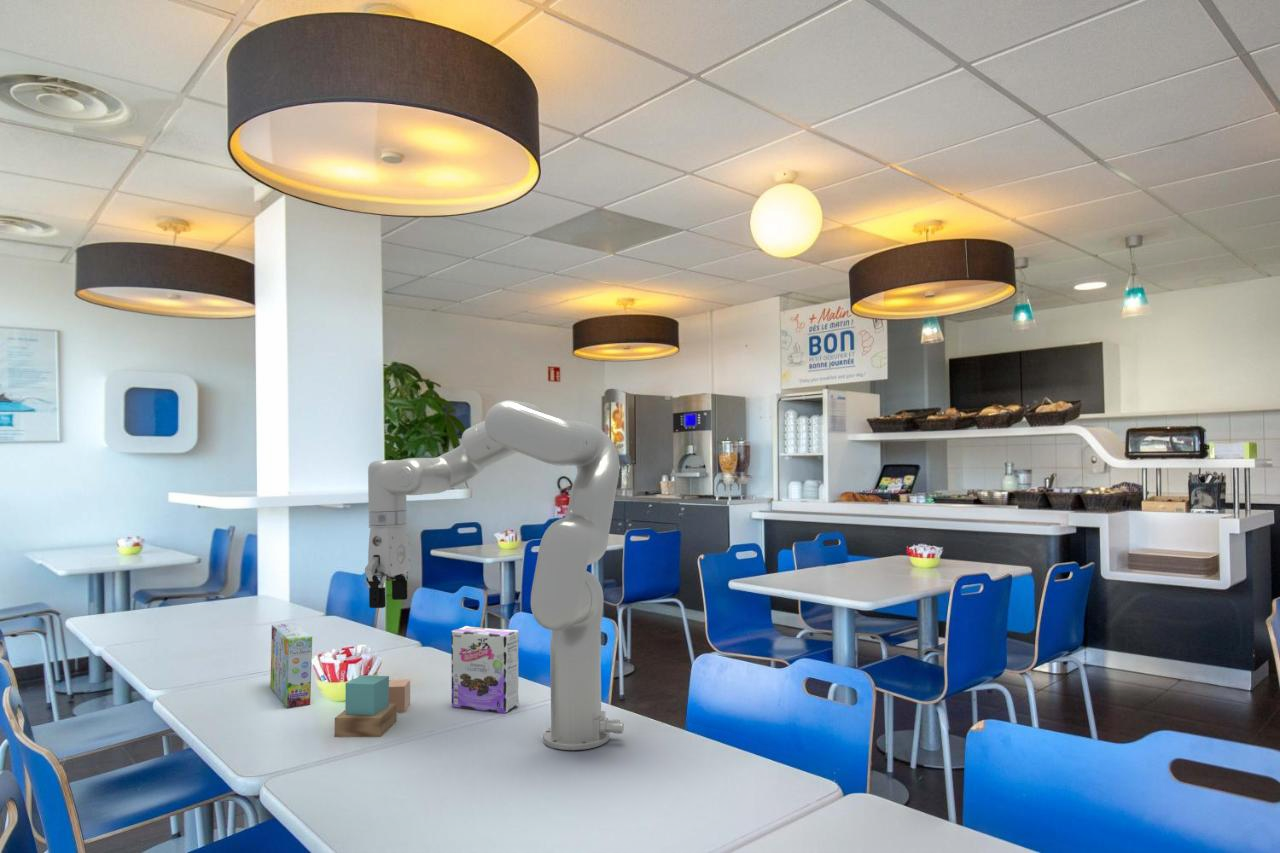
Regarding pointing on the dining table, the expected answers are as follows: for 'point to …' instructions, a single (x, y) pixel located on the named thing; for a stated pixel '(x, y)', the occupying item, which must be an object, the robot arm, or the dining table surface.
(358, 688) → the teal cube
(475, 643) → the candy box
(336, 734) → the walnut block
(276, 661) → the snack box
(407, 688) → the terracotta cube
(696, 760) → the dining table surface
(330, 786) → the dining table surface
